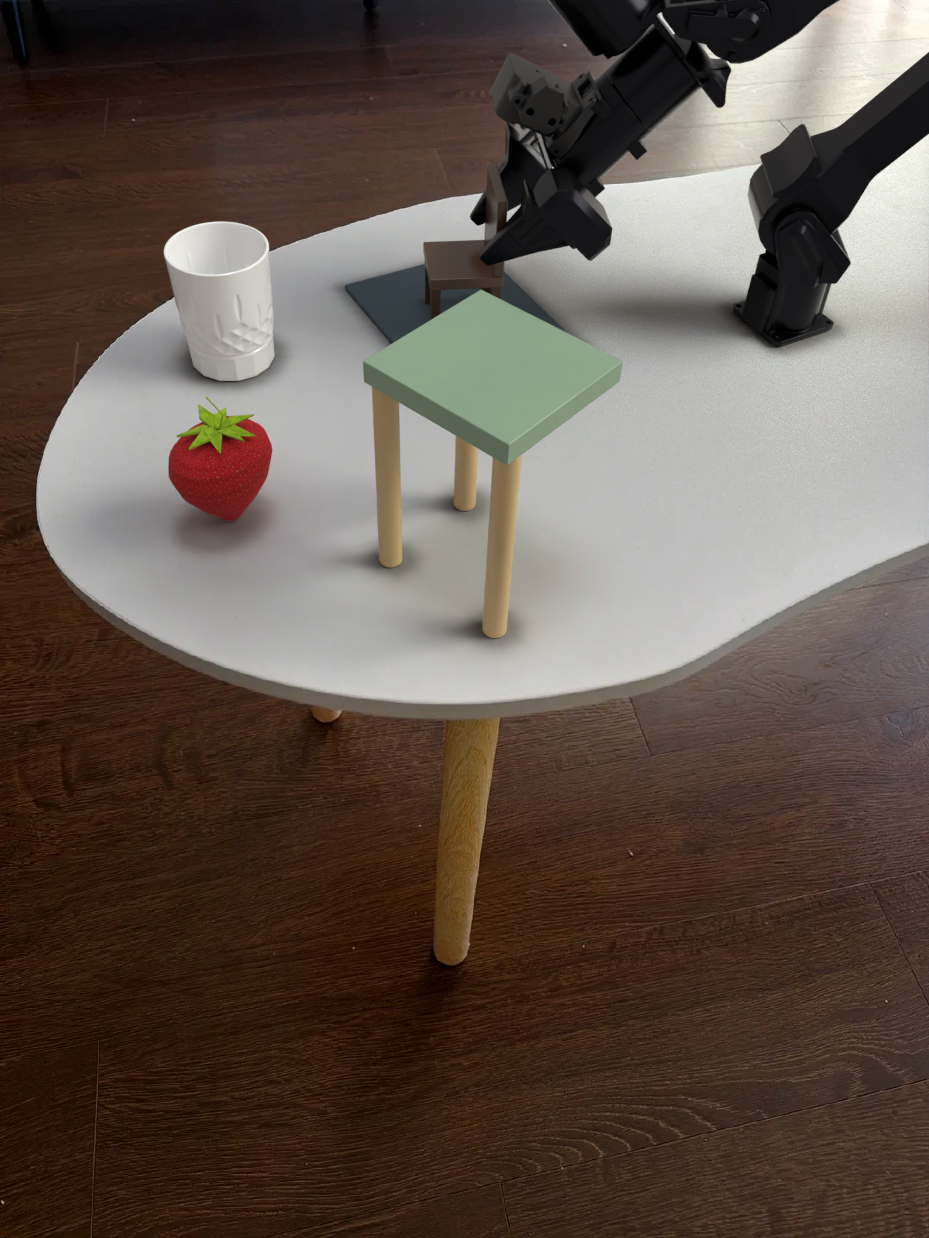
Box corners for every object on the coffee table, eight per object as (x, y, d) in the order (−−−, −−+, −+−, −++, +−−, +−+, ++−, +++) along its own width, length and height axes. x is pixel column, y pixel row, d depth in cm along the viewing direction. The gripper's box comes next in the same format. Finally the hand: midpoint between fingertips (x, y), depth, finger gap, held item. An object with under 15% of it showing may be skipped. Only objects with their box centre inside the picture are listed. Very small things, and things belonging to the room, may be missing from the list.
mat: (481, 252, 103) (481, 249, 103) (585, 353, 93) (585, 349, 92) (344, 288, 98) (344, 284, 98) (438, 399, 88) (438, 395, 88)
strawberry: (162, 523, 77) (134, 409, 70) (245, 473, 81) (227, 360, 74) (215, 565, 75) (192, 451, 67) (298, 511, 79) (285, 398, 71)
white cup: (263, 393, 88) (249, 282, 80) (170, 379, 89) (147, 267, 81) (293, 338, 93) (282, 228, 85) (205, 325, 94) (186, 215, 86)
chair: (490, 296, 97) (497, 164, 88) (499, 335, 93) (508, 201, 84) (423, 299, 97) (423, 167, 88) (429, 338, 93) (430, 204, 84)
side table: (472, 487, 81) (480, 289, 69) (591, 559, 76) (623, 360, 64) (372, 561, 76) (362, 360, 63) (493, 644, 71) (508, 444, 59)
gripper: (540, -26, 84) (398, 122, 91) (586, 76, 72) (418, 237, 79) (626, 78, 91) (488, 208, 98) (682, 188, 78) (519, 327, 86)
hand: (478, 241), depth 90 cm, fingers closed on chair, 6 cm apart
